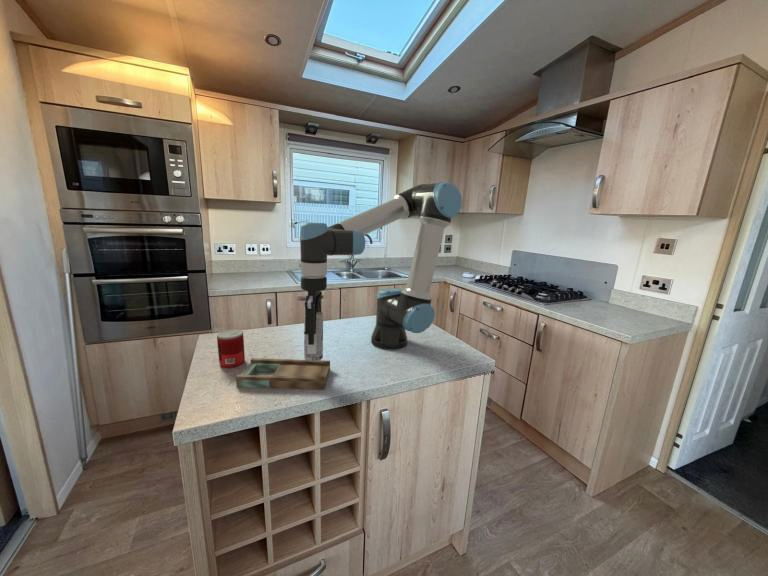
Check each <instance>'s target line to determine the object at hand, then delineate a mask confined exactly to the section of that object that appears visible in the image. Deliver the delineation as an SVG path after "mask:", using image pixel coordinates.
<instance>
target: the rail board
mask: <svg viewBox="0 0 768 576" xmlns="http://www.w3.org/2000/svg"><path fill="white" fill-rule="evenodd" d="M257 372H263V373H265V372H267V373H268V372H269V373H272V372H273V374H272V375H270V374H269V375H266V374H264V375H263V374H260V375H259V374H256V373H257ZM330 372H331V360H323V359H321V360H319V361H316V362H310V361H307V360H305V359H291V358H290V359H289V358H284V359H283V358H259V357H258V358H257V357H255V358H253V357H252V358H251V359H250V363H249V364H248V365H247V366H246V368H244V370H243V371H242V372H241V373H240V374H237V375H236V376H235V382H236V385H235V386H236V388H245V389H246V388H248V389H249V388H250V389H251V388H253V389H285V390H287V389H288V390H291V389H293V390H317V391H318V390H322V391H323V390H325V387H326V385H327V382H328V379H329V374H330Z"/></svg>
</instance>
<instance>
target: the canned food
mask: <svg viewBox="0 0 768 576" xmlns="http://www.w3.org/2000/svg"><path fill="white" fill-rule="evenodd" d="M216 338H217V339H216V340H217V341H216V342H217V343H216V344H217V352H218V353H217V354H218V363H219V365H220V367H221V368H225V369H232V368H233V369H234V368H236V367H239V366H241V365H242V364H244V362H245V360H246V358H245V357H246V356H245V339H244V338H245V337H244V332H243V330H242V329H238V328H237V329H236V328H233V329H232V328H231V329H226V330H223V331H220V332H218V333H217V335H216Z"/></svg>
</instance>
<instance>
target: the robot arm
mask: <svg viewBox="0 0 768 576" xmlns="http://www.w3.org/2000/svg"><path fill="white" fill-rule="evenodd" d="M462 205H463V197H462V194H461V192H460V189H459V188H458V187H457V185H455V184H454V183H451V182H444V181H440V182H433V183H423V184H418V185H416V186H412V187H411V188H409V189H406V190H404V191H402V192H400V193H398V194H395V195H394V196H393V198H392V199H391V200H389V201H386V202H383V203H381V204H379V205H377V206H374V207H373V208H370V209H368V210H365V211H364V212H361V213H358V214H356V215H353V216H352V217H348V218H347V219H345V220H342V221H339V222H337V223H335V224H333V225H332V224H331V225H330V226H328V225H327V223H324V222H311V221H309V222H308V221H307V222H303V223H301V225H300V232H299V233H300V234H299V235H300V236H299V240H300V241H299V242H300V243H299V245H300V247H299V248H300V264H298V267H299V268H300V275H301V277H300V289H301V290H303V291H306V292H307V295H306V296H305V301H304V310H305V311H304V313H305V315H304V316H305V332H304V331H303V335H304V334H307V354H316V353H317V333H316V316H317V312H322V297H323V295H322V294H323V291H325V290H326V289H327V287H328V283H327V282H328V278H327V277H326V276H327V275H328V256H357V255H362V254H363V253H364V251H365V249H366V237H365V236H366V235H367V234H368V235H369V234H370V233H372V232H374V231H376V230H379V229H381V228H383V227H385V226H387V225H389V224H391V223H394V222H396V221H398V220H404V221H405V220H406V219H409V218H412V217H417V219H418V220H419V222H420V227H419V231H418V232H419V233H418V235H417V239H416V244H415V249H414V252H413V258H412V261H411V266H410V271H409V274H408V279H407V281H406V287H405V288H402V287H401V288H400V287H399V288H397V287H391V288H382V289H380V290H378V291H377V294H376V315H375V318H376V319H375V321H376V322H375V327H374V328H373V332H372V334H371V336H370V337H371V339H370V343H371V345H373V346H374V347H376V348H378V349H382V350H387V351H388V350H389V351H391V350H392V351H393V350H401V349H403V348H405V347H406V346H407V345H408V335H407V332H411V333H413V334H420V333H423V332H425V331H426V330H428V329H429V328H430V327H431V326H432V323H433V322H434V319H435V315H436V314H435V313H436V312H435V310H434V308H433V306H432V305H431V304H432V299H433V298H432V296H431V295H430V294H431V293H430V290H431V285H432V282H433V279H434V274H435V270H436V265H437V261H438V259H439V258H438V257H439V253H440V248H441V244H442V241H443V236H444V233H445V229H446V228H448V227H449V226H450V225H451V223H452V222H451V221H452V218H455V217H456V216H457V215H458V214H459V213H460V212H461V210H462V207H463V206H462Z"/></svg>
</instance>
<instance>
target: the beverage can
mask: <svg viewBox="0 0 768 576" xmlns="http://www.w3.org/2000/svg"><path fill="white" fill-rule="evenodd" d="M303 324H304V325H303V340H304V343H303V344H304V351H303V352H304V358H303V359H304V360H307V361H310V362H316V361H319V360H323V359H324V358H323V357H324V354H323V353H324V313H323V312H322V311H321V312H317V316H316V333H317V353H316V354H307V334H304V332H305V312H304V316H303Z"/></svg>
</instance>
